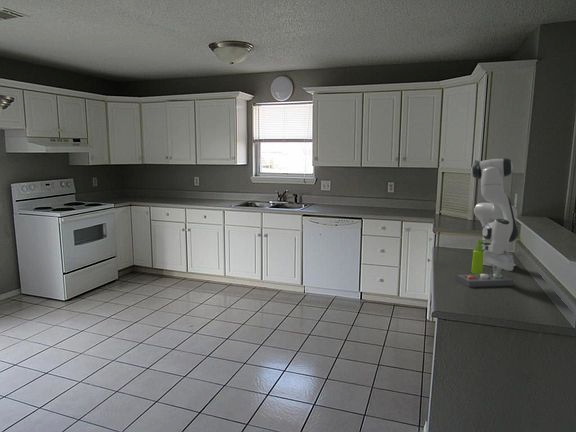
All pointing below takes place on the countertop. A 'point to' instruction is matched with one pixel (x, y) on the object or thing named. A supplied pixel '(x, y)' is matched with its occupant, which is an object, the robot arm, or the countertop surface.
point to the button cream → (484, 276)
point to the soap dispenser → (477, 258)
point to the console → (483, 281)
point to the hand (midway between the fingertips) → (496, 274)
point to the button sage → (497, 276)
